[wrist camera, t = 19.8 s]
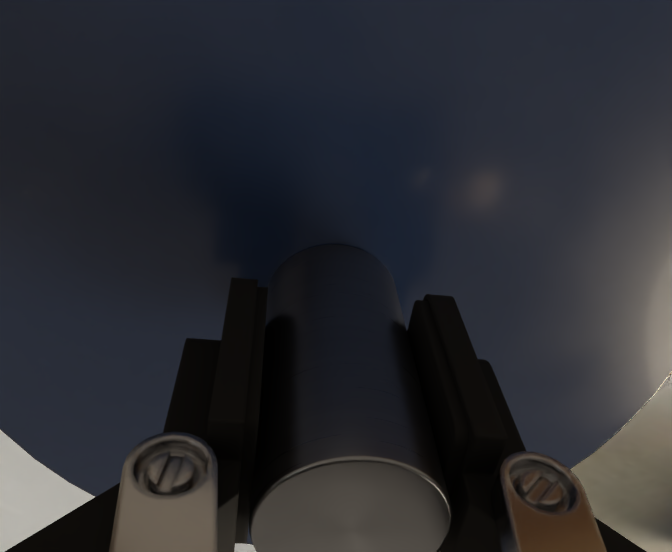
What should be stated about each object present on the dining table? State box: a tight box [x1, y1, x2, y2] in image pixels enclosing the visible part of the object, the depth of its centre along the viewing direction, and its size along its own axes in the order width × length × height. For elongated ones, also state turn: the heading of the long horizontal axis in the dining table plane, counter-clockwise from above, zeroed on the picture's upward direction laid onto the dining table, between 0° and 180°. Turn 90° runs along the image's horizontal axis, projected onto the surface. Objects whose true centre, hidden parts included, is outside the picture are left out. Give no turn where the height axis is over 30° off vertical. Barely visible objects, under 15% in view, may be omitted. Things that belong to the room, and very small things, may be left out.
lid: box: [0, 0, 672, 552], centre depth 12 cm, size 18×18×7 cm
